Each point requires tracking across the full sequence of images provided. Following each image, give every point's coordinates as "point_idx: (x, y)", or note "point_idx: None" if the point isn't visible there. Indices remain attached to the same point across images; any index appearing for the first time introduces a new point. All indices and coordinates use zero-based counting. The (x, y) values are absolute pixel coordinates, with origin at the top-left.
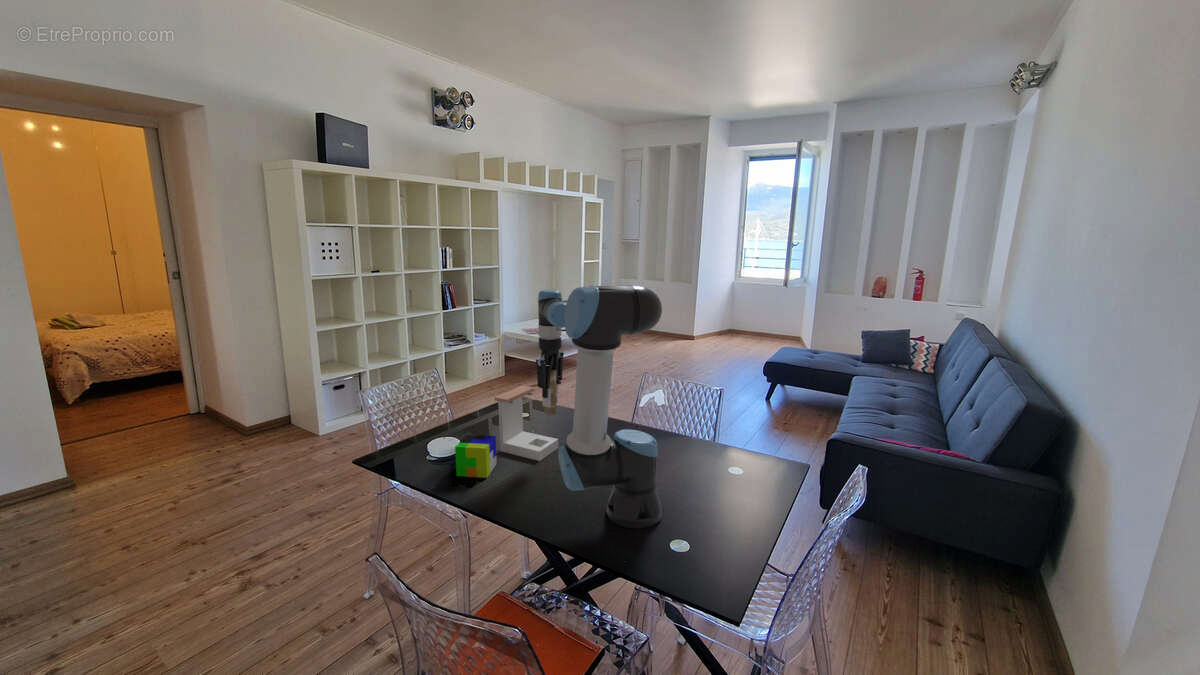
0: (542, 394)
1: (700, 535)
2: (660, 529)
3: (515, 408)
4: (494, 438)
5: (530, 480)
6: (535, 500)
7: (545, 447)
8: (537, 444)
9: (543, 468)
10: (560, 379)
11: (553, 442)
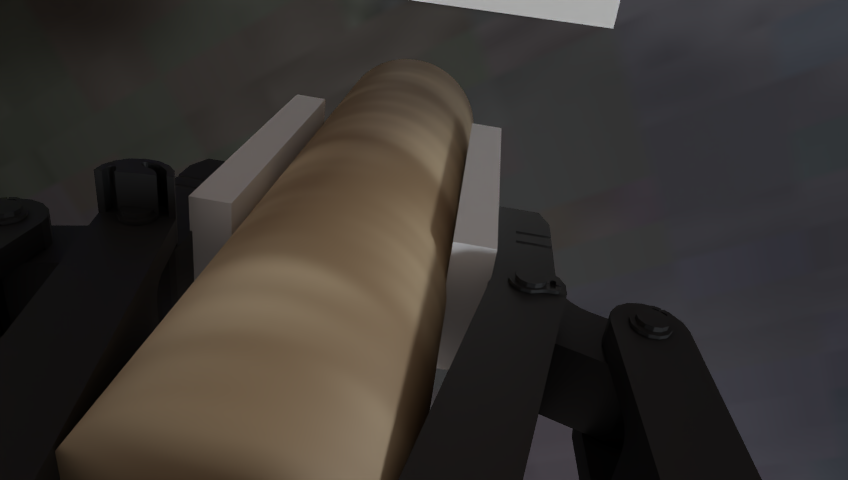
0: (178, 180)
1: None
2: None
3: None
4: None
5: (138, 50)
6: (3, 163)
7: (437, 2)
8: None
9: (294, 55)
10: (580, 434)
11: (544, 18)
